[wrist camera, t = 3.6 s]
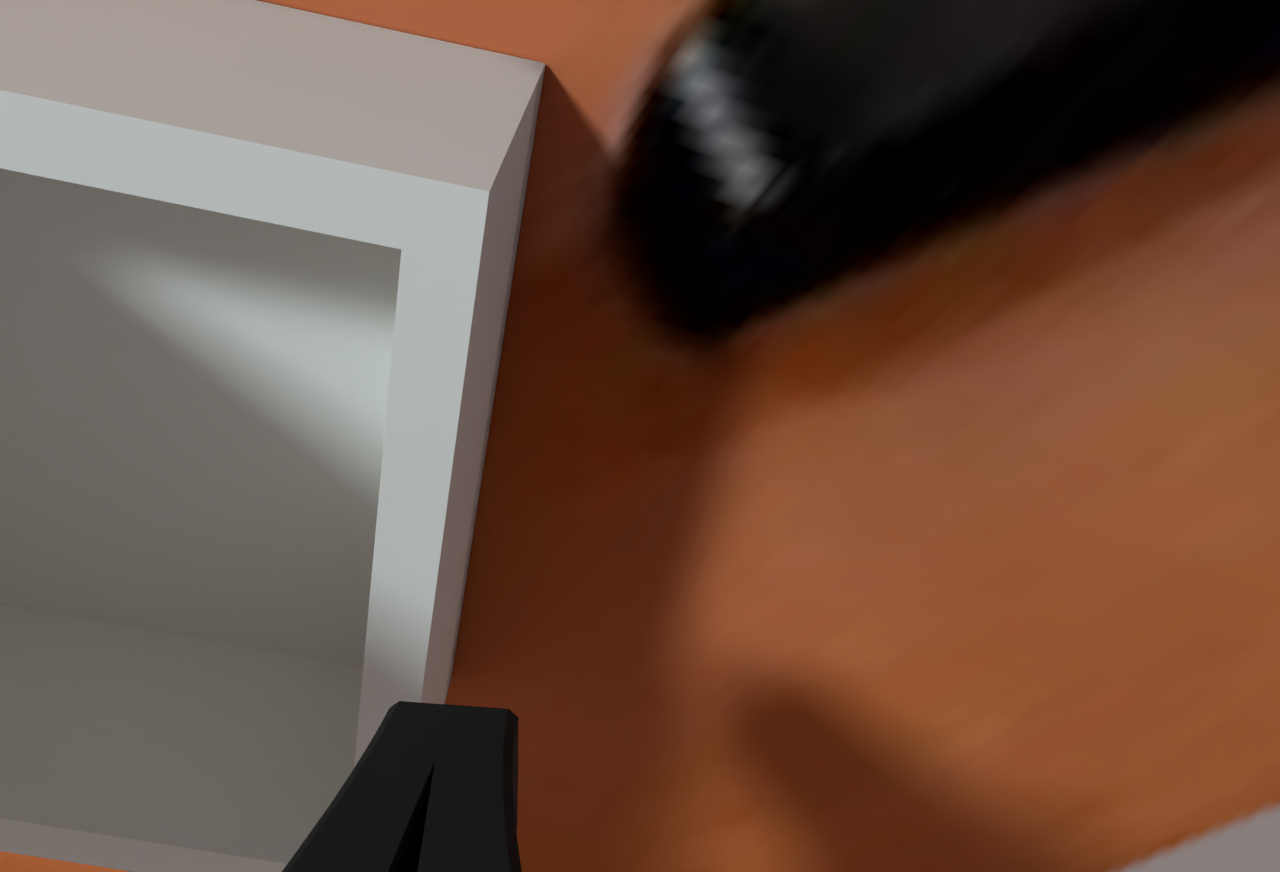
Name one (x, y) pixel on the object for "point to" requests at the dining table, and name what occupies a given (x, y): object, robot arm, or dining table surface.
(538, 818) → the dining table surface
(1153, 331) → the dining table surface
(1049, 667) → the dining table surface
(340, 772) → the carton
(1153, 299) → the dining table surface
